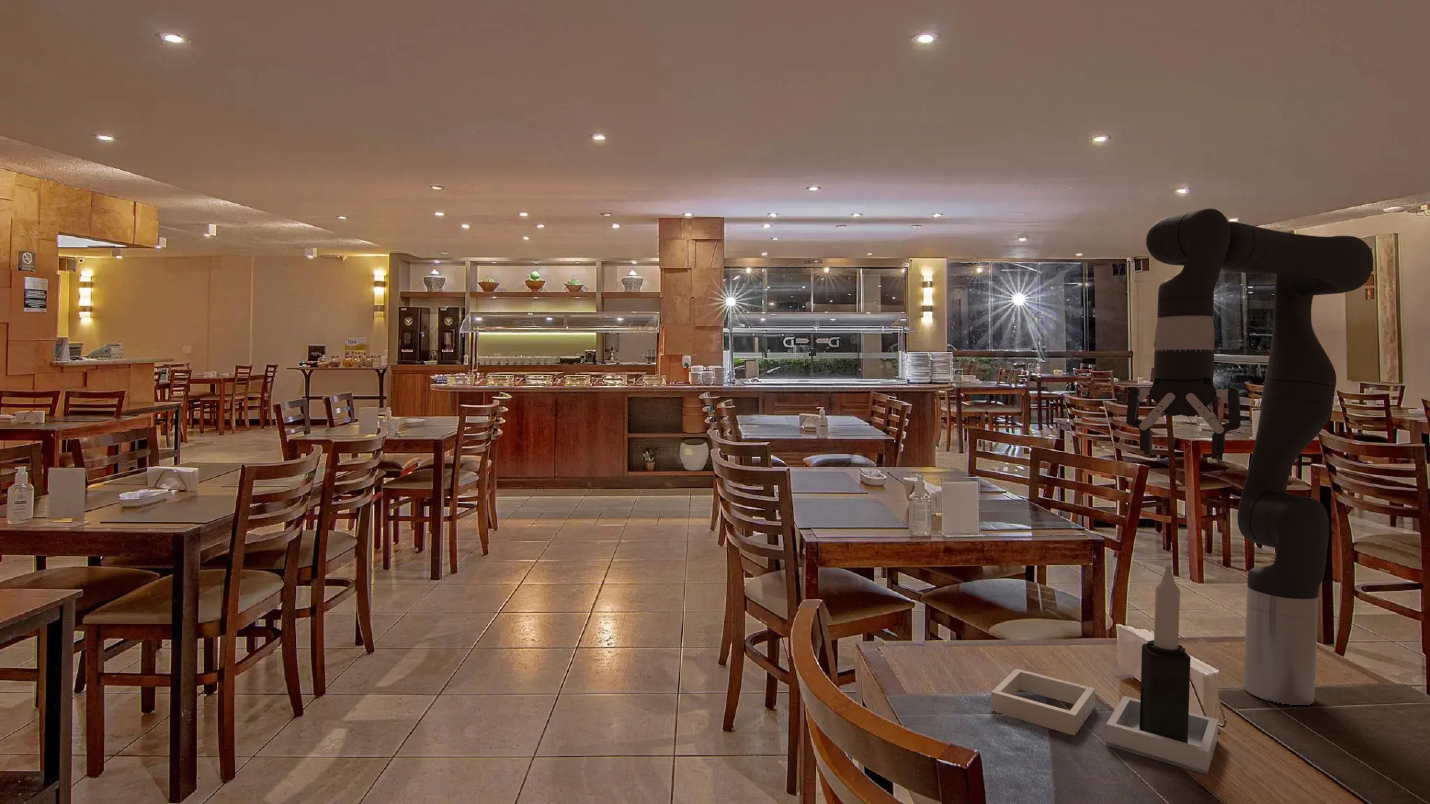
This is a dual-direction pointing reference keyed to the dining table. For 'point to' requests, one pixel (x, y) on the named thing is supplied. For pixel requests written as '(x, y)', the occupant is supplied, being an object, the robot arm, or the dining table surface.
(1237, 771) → the dining table surface
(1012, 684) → the grey frame
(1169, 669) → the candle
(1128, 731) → the grey tray
